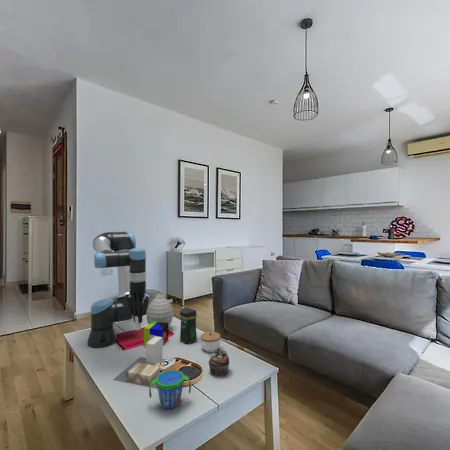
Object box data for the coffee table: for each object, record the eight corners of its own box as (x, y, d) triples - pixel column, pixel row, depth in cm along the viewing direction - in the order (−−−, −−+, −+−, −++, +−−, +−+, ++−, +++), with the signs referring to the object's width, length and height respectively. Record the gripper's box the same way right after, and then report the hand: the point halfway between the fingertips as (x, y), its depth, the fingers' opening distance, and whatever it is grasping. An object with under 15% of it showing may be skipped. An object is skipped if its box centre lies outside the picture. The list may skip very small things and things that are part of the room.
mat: (112, 380, 120) (112, 379, 120) (140, 357, 141) (140, 356, 141) (166, 391, 113) (166, 390, 113) (187, 365, 133) (187, 364, 133)
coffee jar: (199, 341, 159) (199, 309, 159) (187, 345, 154) (187, 312, 153) (188, 336, 166) (188, 305, 166) (177, 340, 161) (177, 308, 160)
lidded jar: (208, 356, 141) (208, 338, 141) (196, 349, 150) (196, 332, 149) (224, 350, 148) (224, 333, 148) (212, 343, 156) (212, 327, 156)
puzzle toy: (161, 347, 151) (160, 329, 151) (144, 346, 153) (144, 328, 153) (168, 340, 161) (168, 322, 161) (152, 338, 163) (152, 321, 163)
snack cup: (146, 414, 100) (146, 386, 100) (152, 395, 110) (152, 370, 110) (190, 412, 101) (190, 384, 101) (191, 393, 112) (191, 368, 111)
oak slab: (125, 371, 120) (150, 376, 116) (136, 362, 127) (160, 366, 124) (125, 380, 120) (150, 385, 116) (136, 371, 127) (160, 375, 124)
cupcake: (231, 368, 131) (231, 347, 131) (226, 379, 121) (226, 356, 121) (212, 365, 133) (212, 344, 133) (205, 375, 124) (205, 353, 124)
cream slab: (146, 368, 129) (146, 343, 129) (155, 360, 137) (155, 336, 137) (153, 370, 128) (153, 344, 128) (162, 361, 136) (162, 337, 136)
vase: (174, 334, 169) (174, 297, 168) (146, 337, 164) (146, 299, 164) (172, 324, 184) (172, 291, 184) (146, 327, 180) (146, 292, 180)
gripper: (121, 281, 132) (121, 330, 133) (145, 283, 129) (145, 333, 129) (130, 278, 140) (131, 325, 140) (153, 279, 136) (154, 327, 136)
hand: (138, 329), depth 135 cm, fingers closed
